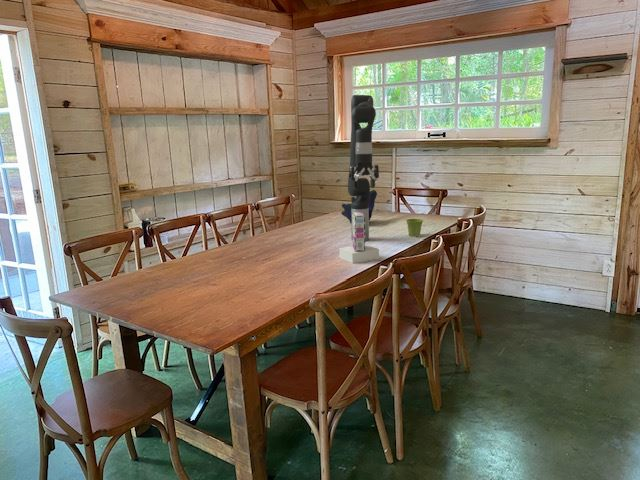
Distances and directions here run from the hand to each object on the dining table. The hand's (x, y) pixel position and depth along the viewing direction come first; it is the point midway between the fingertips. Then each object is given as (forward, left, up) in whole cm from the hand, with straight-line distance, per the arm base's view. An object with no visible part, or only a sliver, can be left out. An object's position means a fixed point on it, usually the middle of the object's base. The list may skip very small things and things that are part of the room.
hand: (364, 188), depth 215 cm
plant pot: (-23, +46, -32) cm, 60 cm away
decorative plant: (-74, +40, -32) cm, 90 cm away
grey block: (+2, -4, -32) cm, 33 cm away
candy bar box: (+2, -4, -28) cm, 28 cm away
